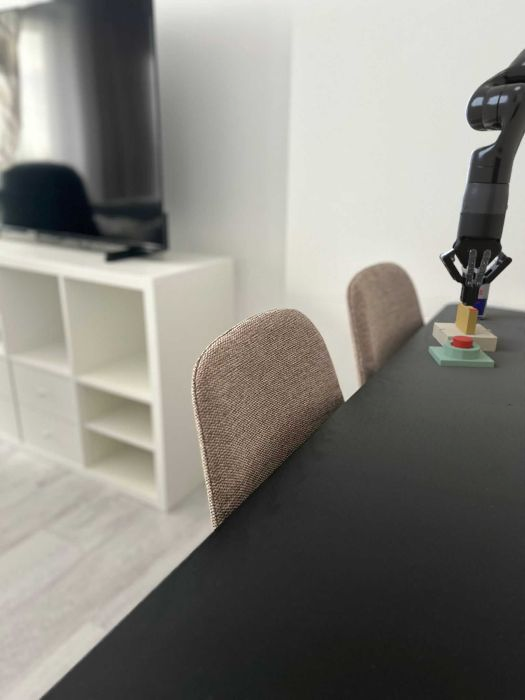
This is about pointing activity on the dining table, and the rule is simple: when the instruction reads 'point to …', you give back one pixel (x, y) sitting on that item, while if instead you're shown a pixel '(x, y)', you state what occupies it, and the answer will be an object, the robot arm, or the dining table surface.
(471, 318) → the mustard yellow slab
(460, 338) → the button
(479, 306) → the energy drink
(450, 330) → the panel
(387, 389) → the dining table surface
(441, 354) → the button box
